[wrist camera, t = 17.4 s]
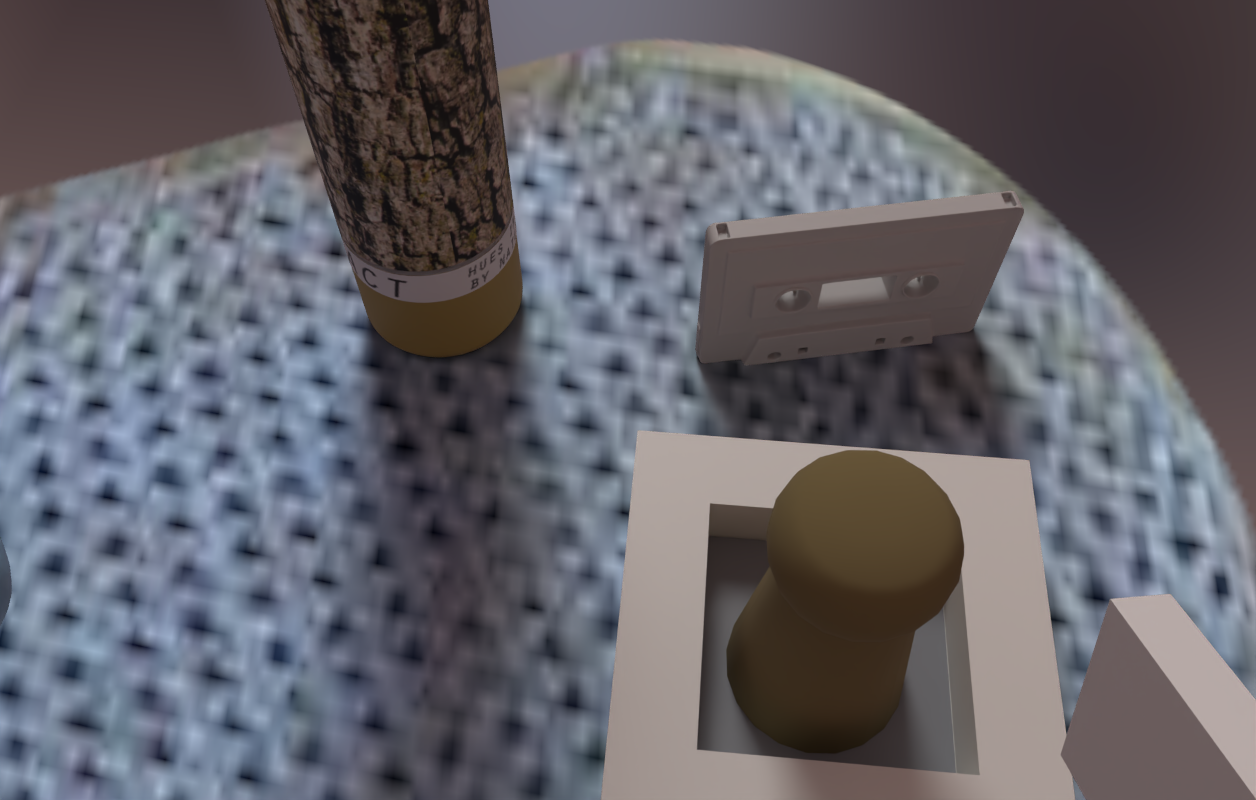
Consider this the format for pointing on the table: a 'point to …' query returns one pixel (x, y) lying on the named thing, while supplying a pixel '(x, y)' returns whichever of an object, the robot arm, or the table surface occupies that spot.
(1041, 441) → the table surface
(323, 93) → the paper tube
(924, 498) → the cork
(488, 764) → the table surface
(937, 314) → the cassette
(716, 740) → the socket block
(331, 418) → the table surface
